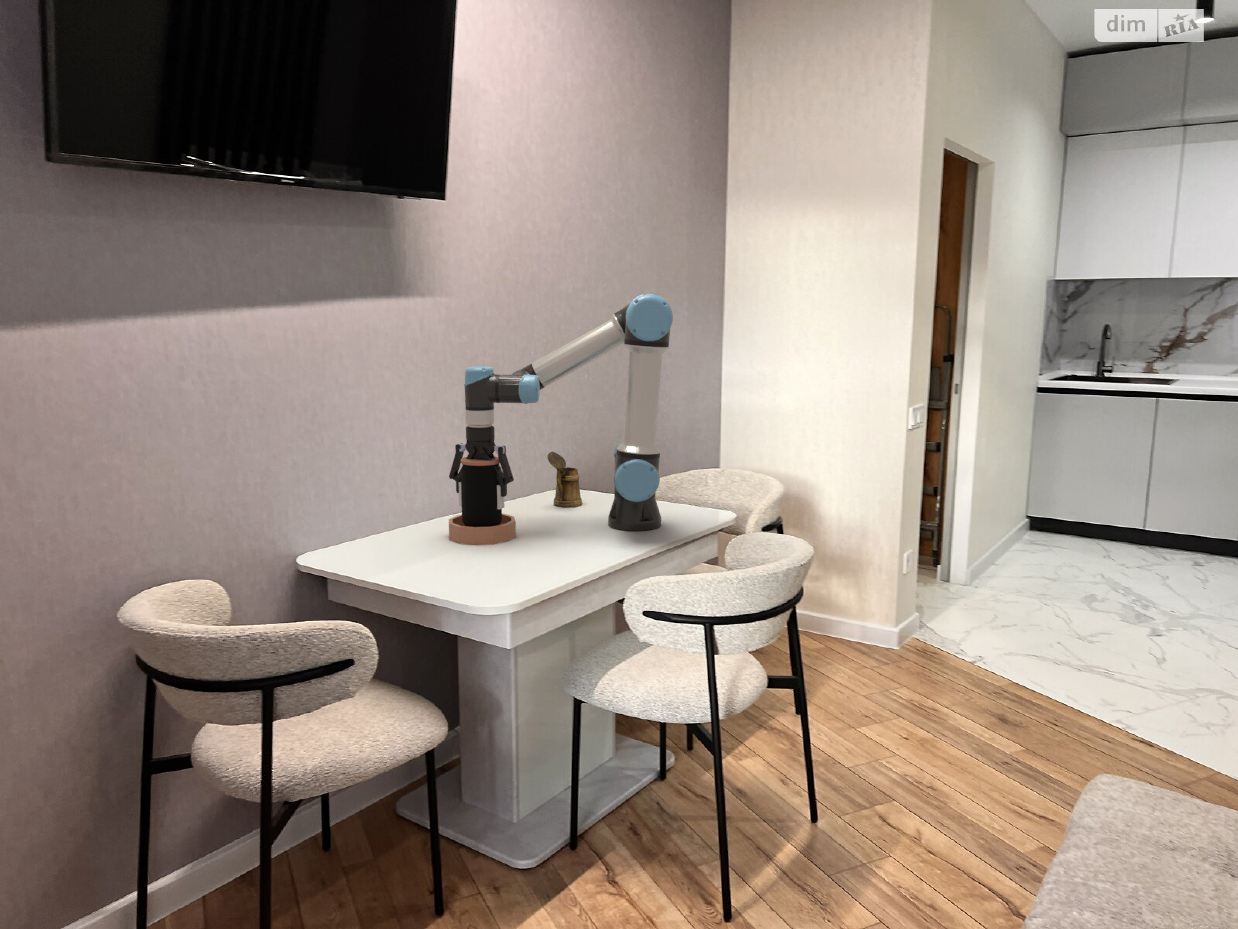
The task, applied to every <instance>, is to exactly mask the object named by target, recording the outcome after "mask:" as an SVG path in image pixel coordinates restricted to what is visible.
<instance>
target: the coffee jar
mask: <svg viewBox="0 0 1238 929" xmlns="http://www.w3.org/2000/svg"><path fill="white" fill-rule="evenodd" d="M466 458H467V456H465V457H462V459H461V464H462V466H461V467H460V469H461V501H462V506H461V515H462V522H463V523H464V525H465V526H468V527H492V526H497V525H499V524H500V523H501V521H502V513H503V511H502V510H503V508H502V509H497V485H499V484H500V483H499V481H498V480H497V471H496V469H495V467H496V468H497V470H499V469H500V468H501V465H500V461H499V458H498V456H495V458H496V459H494V460H491V461H486V460H479V459H466ZM498 466H499V467H500V468H499V467H498ZM501 469H502V468H501Z"/></svg>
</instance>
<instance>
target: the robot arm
mask: <svg viewBox="0 0 1238 929" xmlns="http://www.w3.org/2000/svg"><path fill="white" fill-rule="evenodd" d="M673 317H674V316H673V311H672V308H671V306H670V304H669V303H668V301H667V300H666V299H665V298H664V297H663V296H660V295H658V294H655V293H642V294H640V295H637V296H636V297H635V298H633V299H632V300H631V301H630V302H629V303H628V304H626V305H625V306H624V307H622V308H621V309H620V310H618V311H616V312H614V313H613V314H612V316H611V319H609V320H607V321H605V322H603V323H602V324H600V325H598V326H597V327H595V328H593V329H591V330H590V331H587V332H586V333H584V334H582V335H580V336H579V337H577V338H575V339H573V340H571V341H569V342H568V343H566V344H564V345H563V346H561V347H558V348H557V349H555V350H554V351H551V352H549V353H547V355H544V356H543V357H541V358H539V359H537V360H535V361H533V362H531V363H530V364H528V365H526V366H524V367H522V368H521V369H518V370H516V371H514V372H513V373H512V374H497V373H495V372H494V368H493V367H492V366H481V365H480V366H478V365H477V366H469V367H467V368H465V371H464V402H465V403H464V405H465V408H464V409H465V424H466V427H465V439H466V442H465V443H462V442H460V443H457V444H455V445H454V446H455V447H454V449H455V454H454V457H453V461H452V464H451V468H450V472H449V475H448V478H449V479H450V480H454V481H455V491H456V494H458V502H459V503H458V506H459V507H462V501H461V464H462V463H461V459H462V458H464V457H463V456H464V454H465V451H466V452H467V453H468V454H467V456H466V457H467V458H466V459H479V460H486V461H491V460H494V459H496V458H495V457H496V456H495V455H494V453H495V454H497V457H498V458H499V461H500V463H499V466H500V467H501V468H500V467H499V466H498V467H499V468H500V469H499V470H497V468H496V467H495V469H496V471H497V480H498V481H499V483H500V484H499V485H497V509H502V510H503V509H504V508H505V497H507V495H508V484H509V483H512V482H513V481H515V479H514V475H513V472H512V469H511V466H510V463H509V459H508V457H507V448H506V445H496V444H495V436H496V435H495V426H494V424H495V404H502V403H503V404H525V405H528V404H536V403H538V402H539V401H540V391H541V390H543V389H545V388H546V387H547V386H550V385H552V384H553V383H555V382H557V381H559V380H560V379H562V378H564V377H567V376H568V375H570V374H572V373H574V372H575V371H577V370H579V369H581V368H583V367H585V366H587V365H588V364H590V363H592V362H594V361H595V360H597V359H599V358H601V357H603V356H605V355H607V354H609V353H611V352H613V351H614V350H616V349H618V348H619V347H621V346H623V345H624V346H625V348H626V349H627V350H628V352H629V356H628V370H627V380H626V381H627V383H626V394H625V395H626V396H625V410H624V411H625V412H624V422H623V423H624V424H623V425H624V426H623V436H622V437H623V439H622V442H621V443H620V444H618V445H617V446H615V447H614V453H613V456H614V476H613V484H614V485H613V486H614V495H613V496H614V499H613V501H612V505H611V507H610V511H609V513H608V516H607V518H608V520H607V524H608V526H609V527H611V528H613V529H616V530H622V531H636V532H637V531H639V532H641V531H650V530H654V529H657V528H659V527H661V526H662V516H661V512H660V509H659V506H658V502H657V499H656V493H657V492H656V491H657V490H658V488H659V486H660V475H659V472H660V459H661V458H660V457H661V450H660V449H659V447H658V446H657V445H656V438H657V426H658V425H657V424H658V413H659V399H660V390H661V389H660V387H661V386H660V385H661V377H662V376H661V375H662V362H663V361H662V360H663V354H664V353H665V352H666V351H667V350H668V349H669V347H670V335H671V329H672V325H673V319H674V318H673Z"/></svg>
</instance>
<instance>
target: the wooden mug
mask: <svg viewBox="0 0 1238 929" xmlns="http://www.w3.org/2000/svg"><path fill="white" fill-rule="evenodd" d="M546 458H547V461H548V462H549V464H550V465H551V466H552V467H553V468H554V469H556V488H555V494H554V498H553V506H555V507H559V508H575V507H576V508H577V507H580V506H582V505H583V499H582V497H581V496H582V495H581V490H580V489H581V488H580V480H579V479H580V474H579V470H578V468H576V467H570V466H569V467H567V463H566V462H567V461H566V460H565V458H564V457H563V456H561V455H560V454H558V453H557V452H555V451H550V452H548V454H547V457H546Z"/></svg>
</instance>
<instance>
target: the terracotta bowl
mask: <svg viewBox="0 0 1238 929" xmlns="http://www.w3.org/2000/svg"><path fill="white" fill-rule="evenodd" d="M516 523H517V522H516V519H515V516H513V515H510V514H506V513H504V512H502V521H501V523H500V524H499V525H497V526H492V527H468V526H465V525H464V523H463V522H462V514H459V515H458V514H457V515H455V516H453V517H451V518H448V538H449V541H450V542H451V541H452V542H454V543H457V544H460V545H461V544H462V545H471V546H479V545H480V546H481V545H482V546H484V545H495V544H501V543H506V542H509V541H511V540H513V539H515V538H516V537H517V533H516V532H517V531H516V530H517V529H516V528H517V526H516V525H517V524H516ZM514 537H515V538H514Z"/></svg>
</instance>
